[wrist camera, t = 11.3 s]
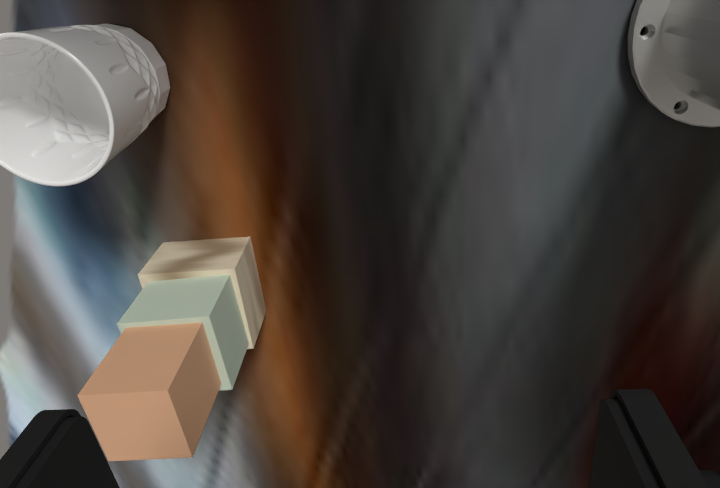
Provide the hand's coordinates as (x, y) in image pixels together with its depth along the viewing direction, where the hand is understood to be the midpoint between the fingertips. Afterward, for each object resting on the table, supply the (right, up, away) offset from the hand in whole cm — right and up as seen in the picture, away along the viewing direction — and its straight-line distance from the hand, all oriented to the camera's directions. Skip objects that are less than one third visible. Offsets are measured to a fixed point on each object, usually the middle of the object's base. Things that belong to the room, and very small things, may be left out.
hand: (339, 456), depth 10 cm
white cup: (-16, +15, +27) cm, 35 cm away
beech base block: (-11, +1, +34) cm, 36 cm away
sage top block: (-11, -1, +30) cm, 32 cm away
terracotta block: (-12, -3, +25) cm, 28 cm away
